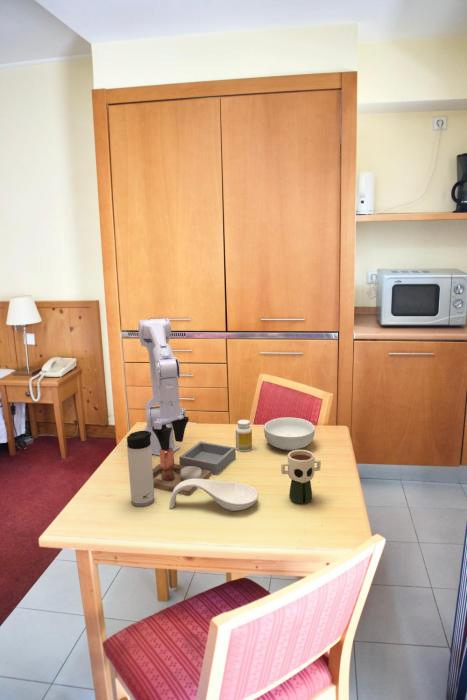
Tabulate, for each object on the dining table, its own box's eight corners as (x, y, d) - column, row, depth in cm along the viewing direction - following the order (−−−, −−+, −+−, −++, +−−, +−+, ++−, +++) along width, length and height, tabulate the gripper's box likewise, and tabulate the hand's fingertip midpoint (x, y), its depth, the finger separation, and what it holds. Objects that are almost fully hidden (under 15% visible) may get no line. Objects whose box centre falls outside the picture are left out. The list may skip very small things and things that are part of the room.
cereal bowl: (253, 445, 181) (253, 426, 180) (286, 432, 192) (286, 413, 190) (291, 461, 169) (291, 440, 167) (324, 445, 180) (325, 426, 178)
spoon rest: (257, 494, 150) (257, 470, 148) (258, 517, 138) (258, 491, 137) (173, 495, 150) (172, 471, 149) (167, 518, 139) (165, 492, 137)
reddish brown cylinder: (158, 480, 159) (157, 451, 157) (166, 474, 162) (164, 446, 160) (170, 482, 157) (168, 454, 155) (177, 476, 161) (175, 448, 159)
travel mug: (151, 508, 143) (146, 438, 139) (127, 505, 145) (122, 436, 140) (158, 496, 149) (154, 429, 145) (136, 494, 151) (131, 427, 146)
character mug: (284, 508, 142) (284, 462, 139) (278, 494, 149) (277, 451, 146) (324, 503, 144) (325, 458, 141) (315, 490, 150) (316, 447, 147)
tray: (179, 467, 167) (179, 457, 166) (200, 451, 178) (199, 441, 177) (217, 475, 161) (216, 464, 160) (235, 457, 172) (235, 447, 171)
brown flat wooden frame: (138, 484, 157) (137, 471, 156) (163, 465, 168) (162, 453, 167) (189, 495, 149) (188, 482, 148) (211, 475, 161) (210, 463, 160)
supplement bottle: (232, 448, 179) (232, 421, 177) (244, 444, 183) (244, 417, 180) (243, 453, 175) (242, 425, 173) (255, 448, 179) (255, 421, 176)
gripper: (167, 408, 146) (170, 455, 148) (194, 395, 159) (196, 439, 161) (146, 406, 149) (149, 452, 151) (173, 393, 162) (176, 436, 164)
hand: (172, 445), depth 156 cm, fingers open, 7 cm apart
